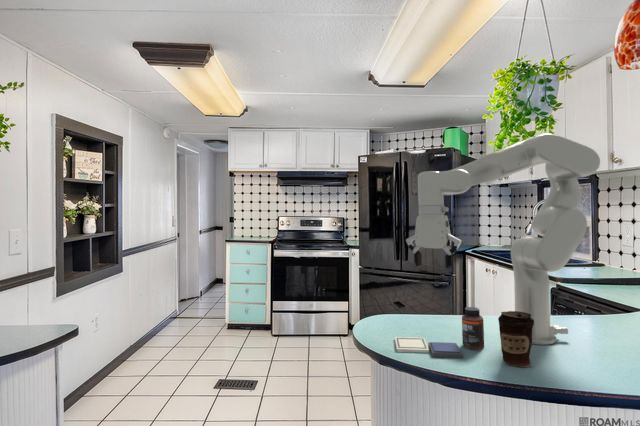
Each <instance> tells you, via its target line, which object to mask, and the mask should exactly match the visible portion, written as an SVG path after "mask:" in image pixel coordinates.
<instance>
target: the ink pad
mask: <svg viewBox="0 0 640 426" xmlns="http://www.w3.org/2000/svg"><path fill="white" fill-rule="evenodd" d="M427 343H428V344H427V346H428V348H429V353H430V354H431V356H432V358H448V359H450V358H451V359H452V358H453V359H454V358H455V359H463V358H464V353H463V352H462V350H461V349H460V347H459V345H458V344H457V343H456V342H439V341H438V342H436V341H433V342H432V341H431V342H429V341H428V342H427Z"/></svg>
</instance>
